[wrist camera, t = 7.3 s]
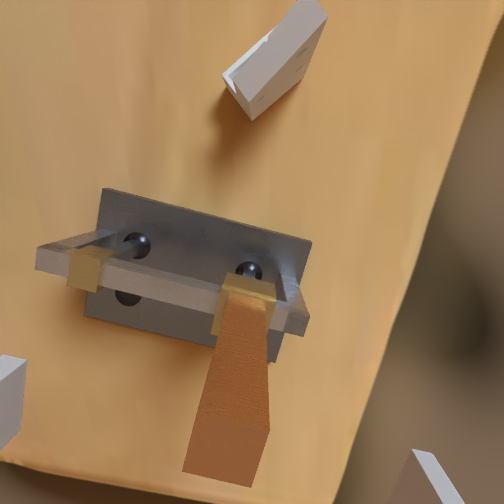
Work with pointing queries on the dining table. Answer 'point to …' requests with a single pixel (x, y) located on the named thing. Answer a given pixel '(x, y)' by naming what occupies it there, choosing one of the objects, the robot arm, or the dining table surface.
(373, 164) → the dining table surface
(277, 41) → the white wedge bracket
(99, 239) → the grey bracket frame
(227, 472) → the sliding leg
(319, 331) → the dining table surface
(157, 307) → the bolt plate
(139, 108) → the dining table surface
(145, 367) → the dining table surface
